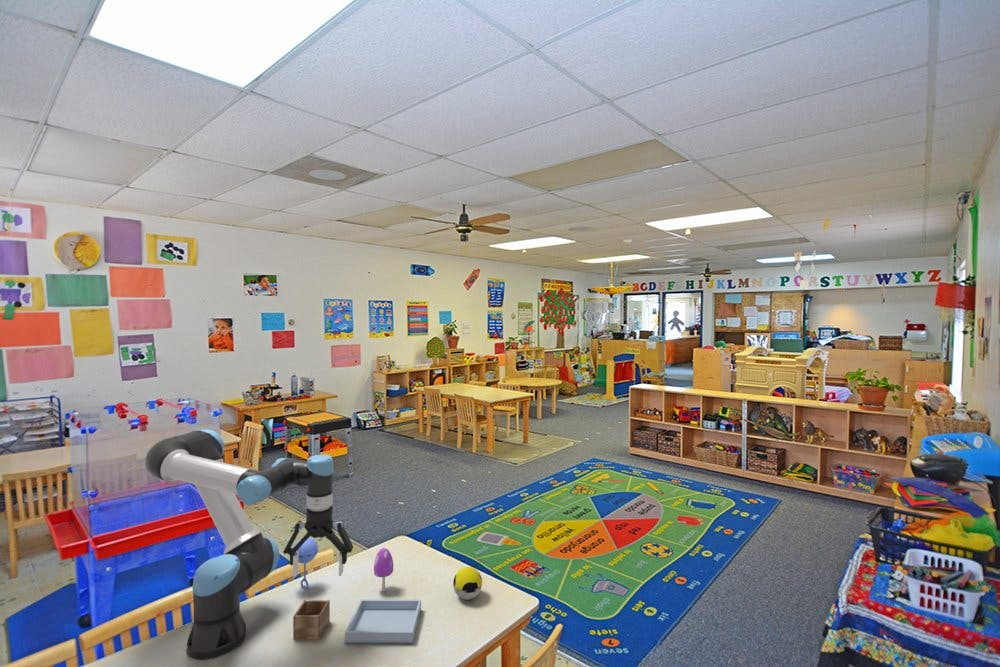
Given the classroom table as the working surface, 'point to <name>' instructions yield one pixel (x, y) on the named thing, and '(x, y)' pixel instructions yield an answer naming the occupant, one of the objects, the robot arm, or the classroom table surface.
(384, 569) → the toy
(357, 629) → the big tray
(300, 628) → the small crate
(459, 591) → the toy
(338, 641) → the classroom table surface
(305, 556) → the baby rattle
